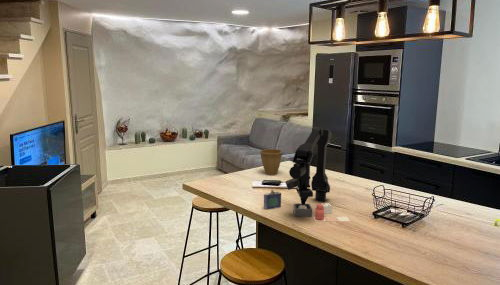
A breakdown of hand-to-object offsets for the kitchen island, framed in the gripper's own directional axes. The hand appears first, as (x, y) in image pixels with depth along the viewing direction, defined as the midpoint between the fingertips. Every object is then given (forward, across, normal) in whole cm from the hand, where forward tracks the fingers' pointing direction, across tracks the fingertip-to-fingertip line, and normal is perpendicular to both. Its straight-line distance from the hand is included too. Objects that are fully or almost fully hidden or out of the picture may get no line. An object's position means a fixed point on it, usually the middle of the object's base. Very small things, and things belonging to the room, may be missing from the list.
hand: (302, 205), depth 179 cm
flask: (+6, -9, -14) cm, 18 cm away
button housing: (+5, 0, 0) cm, 5 cm away
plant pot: (+6, -77, -10) cm, 78 cm away
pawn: (+4, +7, +7) cm, 11 cm away
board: (+6, +3, +8) cm, 10 cm away
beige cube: (+5, -2, +12) cm, 13 cm away
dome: (+4, 0, 0) cm, 4 cm away
